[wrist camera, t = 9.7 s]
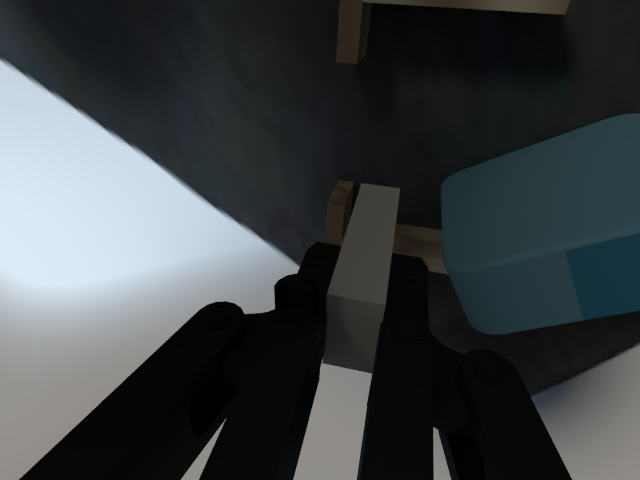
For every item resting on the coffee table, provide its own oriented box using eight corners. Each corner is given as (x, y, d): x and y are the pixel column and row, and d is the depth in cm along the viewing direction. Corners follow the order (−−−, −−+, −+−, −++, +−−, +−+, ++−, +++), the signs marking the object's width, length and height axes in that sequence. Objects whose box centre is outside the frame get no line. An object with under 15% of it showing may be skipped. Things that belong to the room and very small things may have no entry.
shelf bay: (335, 226, 33) (324, 252, 30) (354, -26, 24) (341, -27, 20) (472, 248, 31) (476, 279, 28) (553, -15, 22) (574, -15, 18)
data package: (458, 227, 31) (470, 342, 21) (439, 176, 29) (441, 275, 19) (648, 172, 25) (782, 289, 16) (637, 106, 24) (781, 192, 14)
